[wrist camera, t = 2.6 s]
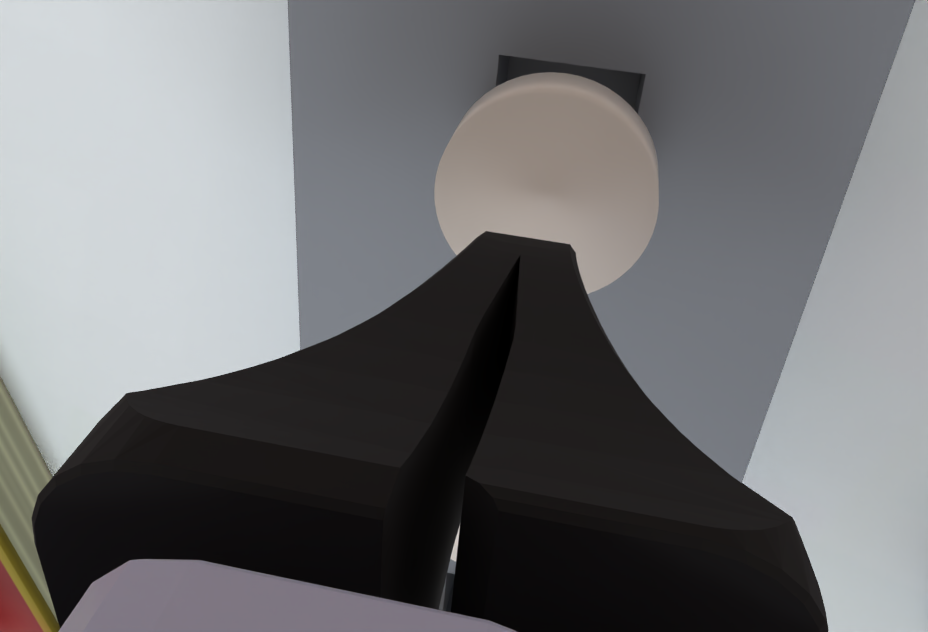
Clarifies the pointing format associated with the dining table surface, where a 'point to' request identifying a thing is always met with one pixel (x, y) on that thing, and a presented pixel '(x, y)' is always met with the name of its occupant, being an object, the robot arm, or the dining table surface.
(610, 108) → the knob
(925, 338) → the dining table surface
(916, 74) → the dining table surface
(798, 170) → the knob panel
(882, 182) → the dining table surface
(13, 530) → the hardcover book
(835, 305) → the dining table surface
